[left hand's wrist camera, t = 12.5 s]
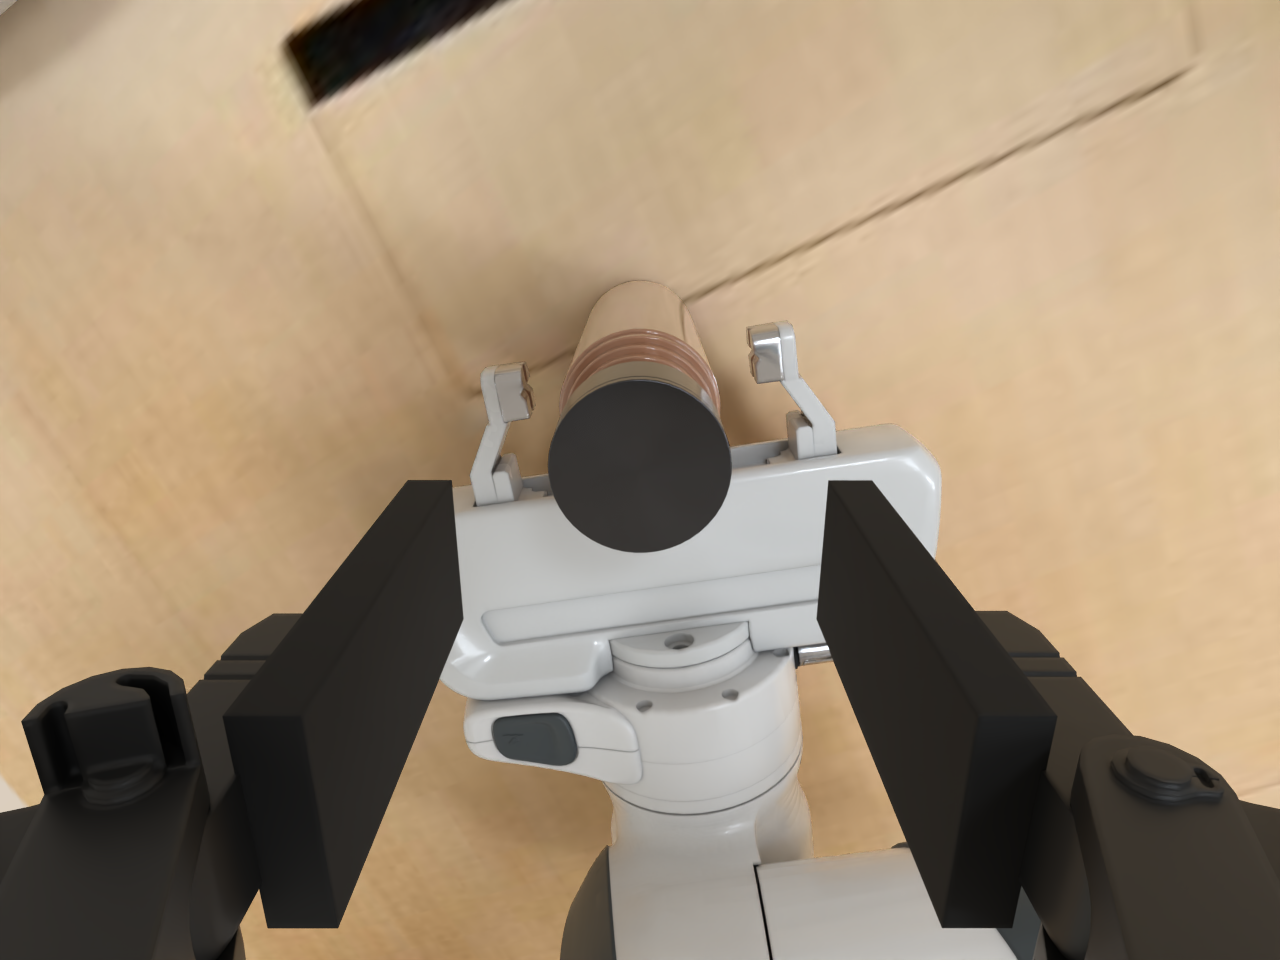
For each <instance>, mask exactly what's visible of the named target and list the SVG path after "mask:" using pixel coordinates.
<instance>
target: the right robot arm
mask: <svg viewBox="0 0 1280 960" xmlns="http://www.w3.org/2000/svg"><path fill="white" fill-rule="evenodd" d="M746 336H747V344H748V345H749V347H750V348H751V352H750V354H749V364H750V372H751V374H752V376H753V377H754V380H755V381H756V383H757V384H760V383H768V382H776V381H780V382H781V384H782V385H783V386H784V388H785V389H786V390H787V392H788V393H789V394H790V396H791V397H792V398H793V400H794V401H795V402H796V404H797V405H798V406H799V408H800V409H801V412H799V411H791V412H788V413H787V414H786V423H787V434H788V438H785V439H778V440H772V441H765V442H758V443H751V444H744V445H738V446H731V447H730V450H731V457H732V476H731V482H730V486H729V490H728V493H727V496H726V498H725V500H724V502H723V504H722V507H721V508H720V510H719V511H718V513H717V514H716V516H715V517H714V518H713V519H712V521H711V522H710V523H709V524H708V525H707V526H706V527H705V528H704V529H703V530H702V531H701V532H699V533H698V534H696V535H695V536H694V537H692V538H691V539H689V540H687V541H685V542H683V543H682V544H680V545H677V546H674V547H672V548H669V549H665V550H661V551H656V552H649V553H632V552H623V551H619V550H614V549H611V548H608V547H606V546H603V545H600V544H599V543H597V542H595V541H593V540H591V539H589V538H588V537H586V536H585V535H583V534H582V533H581V532H580V531H578V530H577V529H576V528H575V527H574V526H573V525H572V524H571V523H570V522H569V521H568V519H567V518H566V517H565V516H564V514H563V513H562V511H561V510H560V508H559V506H558V504H557V502H556V500H555V498H554V496H553V493H552V490H551V487H550V482H549V477H548V473H547V474H541V475H534V476H527V477H521V474H520V470H519V466H518V461H517V457H516V455H515V454H514V453H510V454H504V455H503V456H502V457H501V455H500V453H501V450H502V447H503V444H504V441H505V438H506V435H507V433H508V430H509V427H510V424H511V421H517V420H523V419H528V418H530V417H531V415H532V411H533V410H534V408H535V406H536V404H535V399H534V394H533V389H532V388H531V387H530V386H529V385H528V384H527V382H528V380H529V377H530V374H529V370H528V366H527V363H526V362H517V363H510V364H503V365H495V366H490V367H486V368H485V369H484V370H483V371H482V372H481V389H482V393H483V397H484V402H485V406H486V411H487V415H488V419H489V422H488V424H487V426H486V428H485V431H484V434H483V437H482V440H481V443H480V446H479V449H478V452H477V455H476V458H475V461H474V464H473V467H472V470H471V473H470V479H471V484H472V485H466V486H459V487H453V488H452V490H453V501H454V513H455V524H456V536H457V548H458V559H459V571H460V582H461V594H462V606H463V617H464V619H463V622H462V624H461V627H460V629H459V632H458V634H457V637H456V639H455V642H454V644H453V646H452V649H451V651H450V654H449V656H448V659H447V661H446V664H445V666H444V669H443V671H442V674H441V676H440V678H439V679H440V680H441V681H442V682H443V683H444V684H445V685H446V686H447V687H448V688H450V689H451V690H453V691H454V692H456V693H458V694H460V695H462V696H465V697H467V701H466V707H465V715H464V723H463V729H464V735H465V739H466V743H467V745H468V747H469V749H470V750H471V752H472V753H473V754H475V755H476V756H478V757H480V758H483V759H486V760H490V761H497V762H504V763H512V764H520V765H527V766H535V767H541V768H547V769H553V770H558V771H564V772H569V773H573V774H578V775H582V776H587V777H590V778H594V779H597V780H601V781H602V783H603V785H604V787H605V788H606V790H607V792H608V794H609V796H610V798H611V801H612V804H613V814H612V821H611V836H612V846H608V845H607V846H606V847H605V848H604V849H603V850H602V852H601V853H600V854H599V856H598V857H597V859H596V860H595V862H594V863H593V865H592V867H591V868H590V870H589V872H588V874H587V876H586V877H585V879H584V881H583V883H582V885H581V887H580V889H579V891H578V893H577V895H576V897H575V899H574V900H573V902H572V904H571V907H570V910H569V913H568V916H567V919H566V924H565V928H564V933H563V938H562V945H561V954H560V960H1033V955H1034V951H1035V946H1036V942H1037V938H1038V933H1039V929H1040V925H1041V920H1040V919H1039V917H1038V915H1037V913H1036V911H1035V909H1034V908H1033V906H1032V904H1031V902H1030V900H1029V898H1028V897H1027V895H1026V893H1025V891H1024V889H1023V887H1022V886H1021V890H1020V895H1019V899H1018V904H1017V909H1016V913H1015V918H1014V923H1013V927H1012V928H942V927H941V925H940V922H939V920H938V917H937V915H936V912H935V910H934V907H933V905H932V902H931V900H930V898H929V895H928V893H927V890H926V888H925V885H924V883H923V880H922V878H921V875H920V873H919V870H918V868H917V866H916V863H915V861H914V858H913V856H912V853H911V851H910V848H909V846H908V843H907V842H903V843H898V844H896V845H894V846H893V847H892V848H891V849H885V850H877V851H868V852H860V853H852V854H843V855H835V856H826V857H818V858H814V847H813V834H812V823H811V815H810V810H809V805H808V802H807V799H806V796H805V793H804V791H803V789H802V787H801V785H800V783H799V781H798V778H797V774H798V770H799V767H800V762H801V757H802V749H803V735H802V725H801V715H800V705H799V695H798V686H797V677H796V671H795V669H797V668H798V666H805V665H812V664H820V663H827V662H834V661H833V659H832V656H831V654H830V651H829V649H828V646H827V644H826V642H825V639H824V637H823V634H822V632H821V629H820V627H819V624H818V622H817V619H816V617H817V606H818V594H819V582H820V571H821V559H822V548H823V536H824V524H825V513H826V501H827V490H828V480H872V481H873V482H874V483H875V485H876V486H877V487H878V488H879V490H880V491H881V492H882V493H883V495H884V496H885V497H886V499H887V500H888V501H889V502H890V504H891V505H892V506H893V507H894V509H895V510H896V511H897V513H898V514H899V515H900V516H901V518H902V519H903V520H904V521H905V523H906V524H907V525H908V527H909V528H910V529H911V530H912V532H913V533H914V534H915V535H916V537H917V538H918V539H919V541H920V542H921V543H922V544H923V546H924V547H925V548H926V549H927V551H928V552H929V553H930V554H931V556H932V557H933V558H934V560H935V561H936V559H935V556H936V550H937V543H938V534H939V525H940V511H941V491H942V477H941V470H940V466H939V464H938V462H937V460H936V458H935V457H934V456H933V454H932V453H931V452H930V451H929V450H928V449H927V448H926V447H925V445H924V444H923V443H922V442H920V441H919V440H918V439H917V438H916V437H914V436H913V435H911V434H910V433H909V432H907V431H906V430H905V429H903V428H902V427H900V426H898V425H896V424H880V425H874V426H867V427H860V428H853V429H847V430H840V431H836V430H835V421H834V420H833V419H832V417H831V416H830V415H829V413H828V412H827V411H826V409H825V408H824V406H823V405H822V404H821V402H820V401H819V400H818V398H817V397H816V396H815V394H814V393H813V392H812V390H811V389H810V387H809V386H808V385H807V383H806V382H805V381H804V379H803V378H802V377H801V376H800V374H799V373H798V363H797V352H796V341H795V334H794V330H793V326H792V325H791V324H790V323H789V322H788V321H787V320H786V321H780V322H774V323H767V324H761V325H755V326H750V327H746ZM936 562H937V561H936Z"/></svg>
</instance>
